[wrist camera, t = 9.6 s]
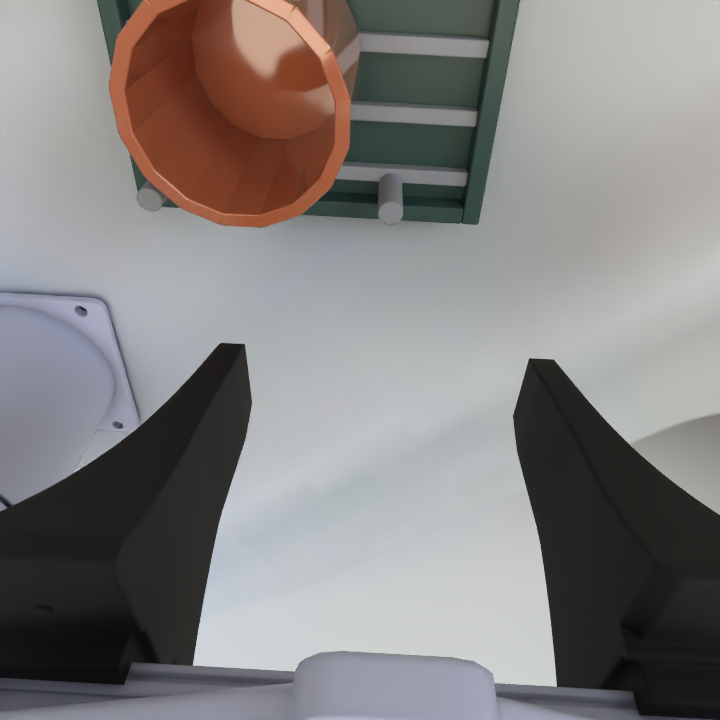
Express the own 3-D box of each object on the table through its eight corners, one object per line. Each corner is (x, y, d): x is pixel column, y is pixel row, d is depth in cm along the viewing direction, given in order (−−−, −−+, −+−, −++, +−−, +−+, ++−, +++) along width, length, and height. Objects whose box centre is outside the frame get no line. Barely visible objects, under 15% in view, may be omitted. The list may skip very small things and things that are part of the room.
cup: (198, 139, 19) (137, 221, 15) (171, -57, 16) (82, -30, 11) (357, 148, 19) (346, 233, 15) (365, -47, 16) (354, -16, 11)
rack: (154, 187, 22) (86, 276, 17) (50, -347, 14) (-141, -475, 9) (473, 205, 22) (496, 299, 17) (566, -321, 13) (665, -436, 9)
